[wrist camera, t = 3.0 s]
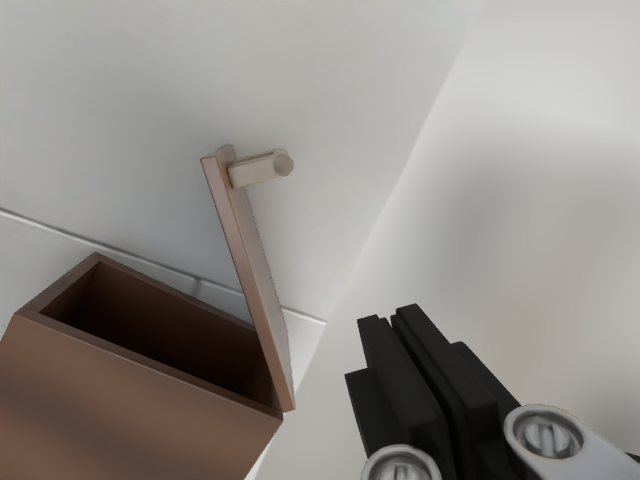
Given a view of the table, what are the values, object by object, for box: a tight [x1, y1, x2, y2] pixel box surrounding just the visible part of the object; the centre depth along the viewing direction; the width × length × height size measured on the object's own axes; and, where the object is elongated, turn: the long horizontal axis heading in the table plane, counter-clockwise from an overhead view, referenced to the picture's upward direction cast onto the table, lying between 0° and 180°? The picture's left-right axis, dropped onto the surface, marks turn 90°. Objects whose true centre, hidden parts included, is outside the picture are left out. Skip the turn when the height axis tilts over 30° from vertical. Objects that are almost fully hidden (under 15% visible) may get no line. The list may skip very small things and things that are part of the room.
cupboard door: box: [200, 145, 295, 413], centre depth 25 cm, size 4×16×9 cm, turn 13°
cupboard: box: [0, 252, 283, 480], centre depth 27 cm, size 11×16×10 cm
